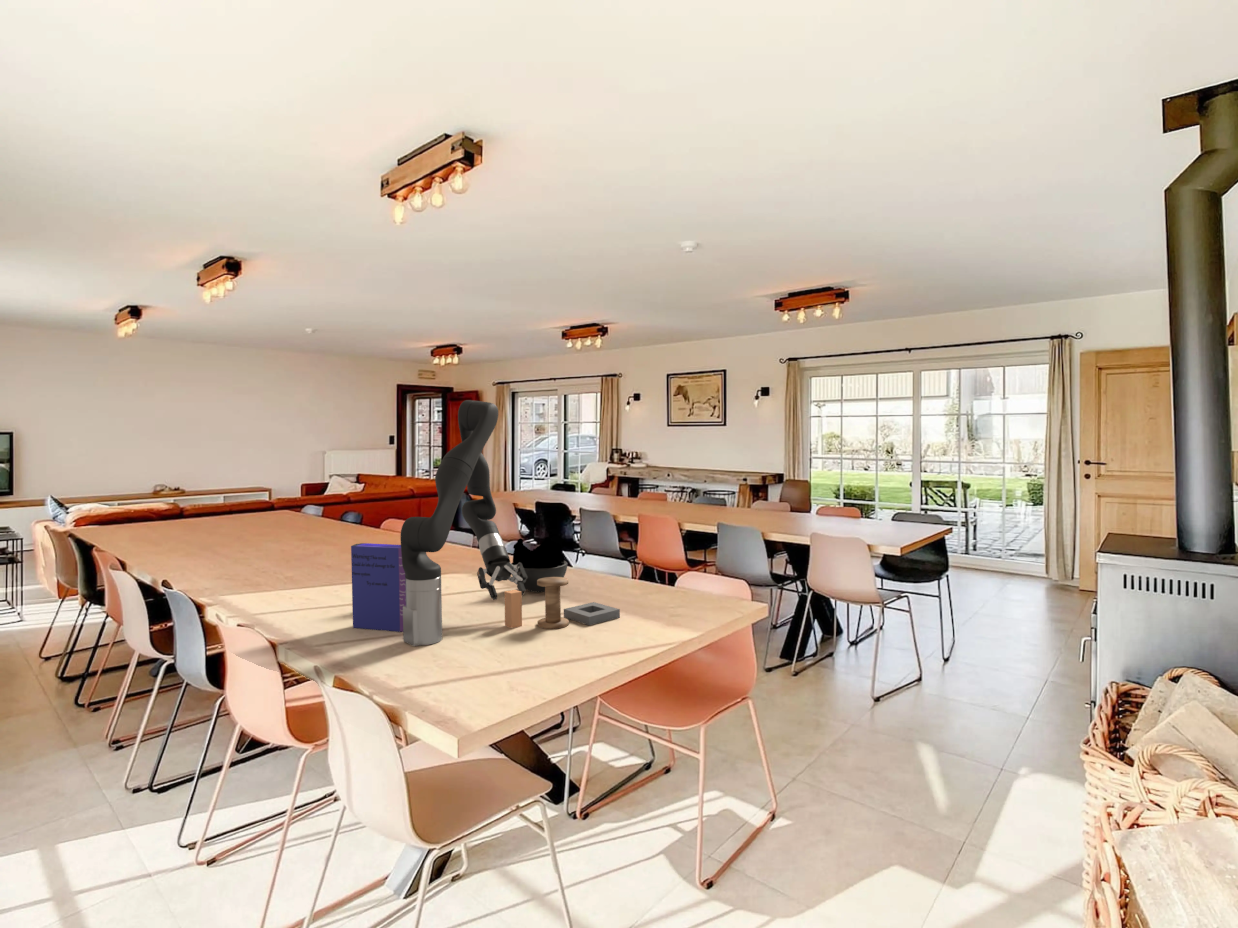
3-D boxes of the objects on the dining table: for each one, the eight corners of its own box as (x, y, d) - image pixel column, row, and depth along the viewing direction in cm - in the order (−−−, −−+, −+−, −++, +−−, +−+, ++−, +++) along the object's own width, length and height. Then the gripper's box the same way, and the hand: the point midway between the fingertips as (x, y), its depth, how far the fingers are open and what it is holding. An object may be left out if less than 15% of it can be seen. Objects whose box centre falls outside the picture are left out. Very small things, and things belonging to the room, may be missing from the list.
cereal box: (415, 627, 186) (414, 544, 185) (406, 632, 181) (404, 547, 180) (363, 623, 190) (361, 542, 189) (352, 628, 186) (351, 545, 185)
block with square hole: (589, 625, 187) (589, 616, 187) (563, 617, 196) (563, 608, 196) (619, 617, 195) (619, 609, 195) (593, 609, 204) (593, 601, 204)
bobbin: (549, 630, 182) (549, 585, 181) (531, 624, 188) (530, 580, 188) (574, 624, 188) (574, 580, 187) (556, 618, 194) (555, 575, 194)
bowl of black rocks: (578, 589, 232) (578, 537, 231) (543, 601, 215) (543, 545, 214) (535, 582, 243) (534, 533, 242) (498, 593, 226) (497, 540, 225)
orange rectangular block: (511, 628, 185) (511, 593, 184) (505, 625, 187) (504, 591, 187) (522, 625, 187) (521, 591, 187) (515, 623, 190) (514, 589, 189)
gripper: (474, 546, 192) (489, 592, 183) (518, 541, 200) (535, 585, 191) (468, 561, 197) (483, 606, 188) (511, 556, 205) (527, 599, 196)
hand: (509, 596), depth 189 cm, fingers open, 8 cm apart
